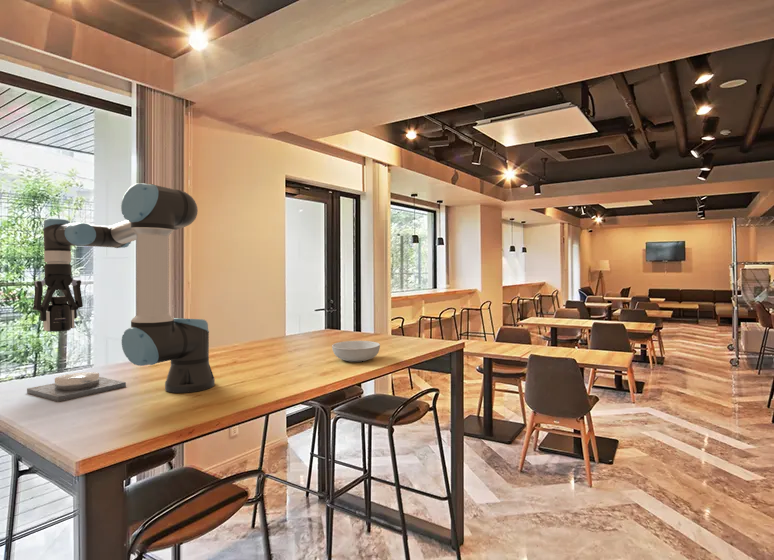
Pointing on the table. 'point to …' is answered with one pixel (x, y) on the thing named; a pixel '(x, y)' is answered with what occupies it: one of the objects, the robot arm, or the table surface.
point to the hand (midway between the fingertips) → (59, 329)
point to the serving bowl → (356, 350)
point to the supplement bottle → (59, 314)
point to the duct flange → (75, 386)
